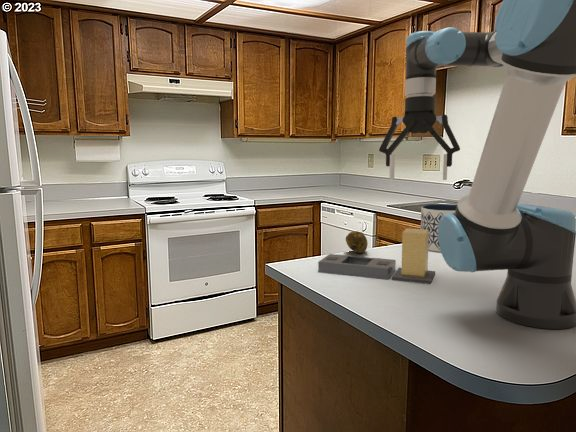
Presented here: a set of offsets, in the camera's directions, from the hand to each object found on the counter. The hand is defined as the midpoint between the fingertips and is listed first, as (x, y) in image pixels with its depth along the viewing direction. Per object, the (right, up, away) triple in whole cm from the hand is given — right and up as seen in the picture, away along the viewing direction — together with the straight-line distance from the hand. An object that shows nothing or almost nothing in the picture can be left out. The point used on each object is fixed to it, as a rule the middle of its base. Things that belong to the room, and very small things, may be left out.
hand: (417, 179), depth 119 cm
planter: (+20, -21, +38) cm, 48 cm away
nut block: (0, -26, +4) cm, 26 cm away
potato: (-11, -22, +32) cm, 41 cm away
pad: (0, -26, +4) cm, 27 cm away
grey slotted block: (-14, -26, +11) cm, 31 cm away
